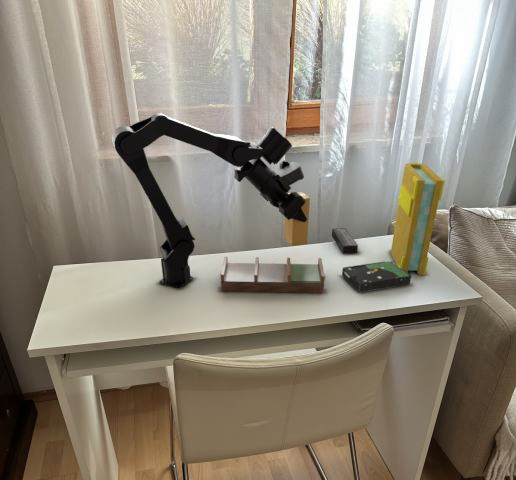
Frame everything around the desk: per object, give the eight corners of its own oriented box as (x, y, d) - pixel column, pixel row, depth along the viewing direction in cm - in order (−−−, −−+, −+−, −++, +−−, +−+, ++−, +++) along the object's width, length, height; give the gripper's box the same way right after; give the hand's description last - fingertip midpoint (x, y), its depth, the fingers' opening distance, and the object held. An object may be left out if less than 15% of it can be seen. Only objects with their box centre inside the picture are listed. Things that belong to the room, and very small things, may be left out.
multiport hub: (342, 253, 146) (343, 246, 144) (331, 235, 158) (331, 228, 156) (357, 253, 146) (358, 245, 145) (344, 234, 158) (345, 227, 157)
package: (291, 245, 133) (293, 199, 126) (284, 238, 137) (285, 193, 130) (307, 243, 134) (310, 197, 127) (299, 236, 138) (301, 191, 131)
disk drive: (359, 294, 125) (410, 284, 129) (360, 284, 123) (412, 275, 127) (341, 276, 133) (389, 268, 137) (341, 267, 132) (391, 259, 135)
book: (425, 274, 134) (444, 180, 120) (400, 274, 134) (416, 180, 120) (410, 249, 148) (426, 163, 134) (387, 249, 148) (401, 162, 134)
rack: (221, 291, 125) (220, 274, 123) (225, 273, 135) (224, 256, 132) (323, 293, 125) (324, 276, 122) (320, 274, 134) (321, 258, 131)
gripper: (300, 161, 114) (338, 204, 123) (272, 144, 129) (308, 184, 138) (267, 199, 116) (307, 238, 126) (243, 178, 131) (281, 214, 140)
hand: (301, 217), depth 132 cm, fingers closed on package, 5 cm apart
